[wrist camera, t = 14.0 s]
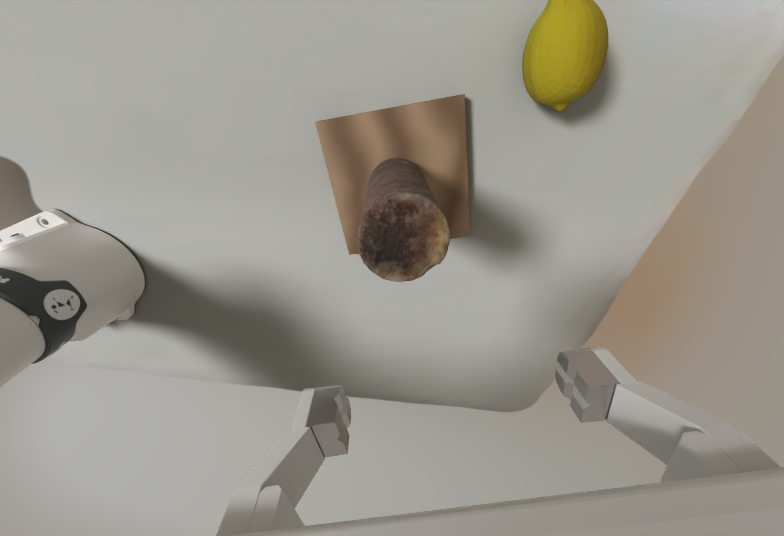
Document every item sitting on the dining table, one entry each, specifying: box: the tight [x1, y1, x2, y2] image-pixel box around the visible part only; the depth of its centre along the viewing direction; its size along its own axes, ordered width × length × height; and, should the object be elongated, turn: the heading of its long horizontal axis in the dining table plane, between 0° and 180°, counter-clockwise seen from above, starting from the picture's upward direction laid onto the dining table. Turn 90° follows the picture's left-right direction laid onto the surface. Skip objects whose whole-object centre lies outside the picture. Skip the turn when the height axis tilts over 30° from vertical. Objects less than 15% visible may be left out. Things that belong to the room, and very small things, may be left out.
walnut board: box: [315, 94, 470, 255], centre depth 41 cm, size 18×18×2 cm
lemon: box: [522, 0, 608, 112], centre depth 32 cm, size 11×8×8 cm
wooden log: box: [357, 158, 450, 282], centre depth 31 cm, size 8×7×20 cm
